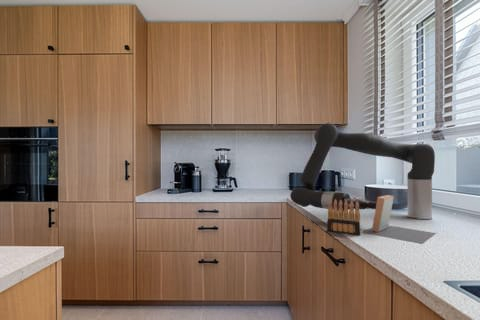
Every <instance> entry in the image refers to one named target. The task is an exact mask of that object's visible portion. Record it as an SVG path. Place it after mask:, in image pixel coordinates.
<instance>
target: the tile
mask: <svg viewBox="0 0 480 320" xmlns="http://www.w3.org/2000/svg"><path fill="white" fill-rule="evenodd" d="M394 197H395V195H390V194H386V195H381V196H377V199H376V203H377V204H376V209H374V210H375V212H374V217H373V222H372V227H371V228H372V231H375V232H380V231H382V230H384V229H387V228H388V226H390V219H391V215H392V214H391V213H392V208H393V203H394Z"/></svg>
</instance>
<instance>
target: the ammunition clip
mask: <svg viewBox="0 0 480 320" xmlns="http://www.w3.org/2000/svg"><path fill="white" fill-rule="evenodd" d="M360 213H361V212H360V209H359V203H358V201H356V205H355V209H353V202H352V200H351V202H350V209H349V210H348V204H347V201H346V200H345V203H344V212H343V208H342V201H341V200H340V202H339V210H337V201H336V199H335V200H334V207H333V210H332V202H331V199H330V200H329V205H328V209H327V224H326V225H327V226H326V227H327V228H326V232H329V233H336V234H344V235H352V236H353V235H354V236H361V214H360Z"/></svg>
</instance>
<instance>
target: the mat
mask: <svg viewBox="0 0 480 320" xmlns="http://www.w3.org/2000/svg"><path fill="white" fill-rule="evenodd" d="M361 233H362V234H367V235H372V236H378V237H383V238H389V239H395V240H398V241H405V242H409V243H415V244H420V245H423V244H424V243H426V242H427V241H428V240H430V239H431V238H432V237H433V236H435V235H436V234H437V232H431V231H425V230H419V229H412V228H407V227H406V228H405V227H400V226H395V225H389V226H388V228H387V229H384V230H382V231H380V232H375V231H372V227H371V228H368V229H366V230H363V231H360V234H361Z"/></svg>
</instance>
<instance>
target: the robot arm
mask: <svg viewBox="0 0 480 320" xmlns="http://www.w3.org/2000/svg"><path fill="white" fill-rule="evenodd" d="M313 139H314V140H315V142H316V144H315V146H314V149H313V151H312V153H311V155H310V156H309V158H308V161H307V162H306V165H305V167H304V169H303V171H302V174H301V176H300V179H299V182H300V184H301V185H302V187H297V188H294V189H292V190H291V193H290V195H289V197H290V200H291V201H292V202H293V203H294V204H296V205H298V206H300V207H303V208H306V207H308V206H312V207H315V208H317V209H318V208H319V209H325V210H328V205H329V200H330V199H331V202H332V211H333V207H334V200H335V199H336V201H337V210H339V202H340V200H341V201H342V208H343V212H344V203H345V200H346V201H347V204H348V211H349V210H350V202H351V200H352V202H353V209H354V210H355V205H356V201H358V203H359V210H369V209H373V210H376V204H377V202H375V201H371V200H369V199H365V198H359V197H352V198H351V197H350V194H349V193H347V192H338V191H319V190H317V191H316V190H315V189H316V184H317V181H318V178H319V176H320V174H321V171H322V167H323V165H324V162H325V160H326V158H327V156H328V155H329V154H328V153H329V152H330V149H331V148H333V147H334V148H340V149H346V150H349V151H353V152H357V153H361V154H367V155H371V156H377V157H383V158H393V159H396V160H400V161H403V162H407V163H410V164H411V169H410V171H408V173H407V217H409V218H413V219H420V220H432V219H433V175H434V173H435V161H436V153H435V150H434V148H433V146H431V144H428V143H422V142H421V143H414V144H413V143H411V144H410V143H402V142H401V143H400V142H397V141H393V140H391V139H389V138H387V137H384V136H381V135H379V134H378V135H377V134H373V133H366V132H364V133H358V132H357V133H356V132H355V133H351V132H350V133H348V132H347V133H345V132H341V131H338V128H337V126H336V125H335V124H333V123H330V122H328V123H324V124H322V125H320V126H319V127H318V128H317V129H316V131H315V132H314V137H313Z"/></svg>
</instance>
